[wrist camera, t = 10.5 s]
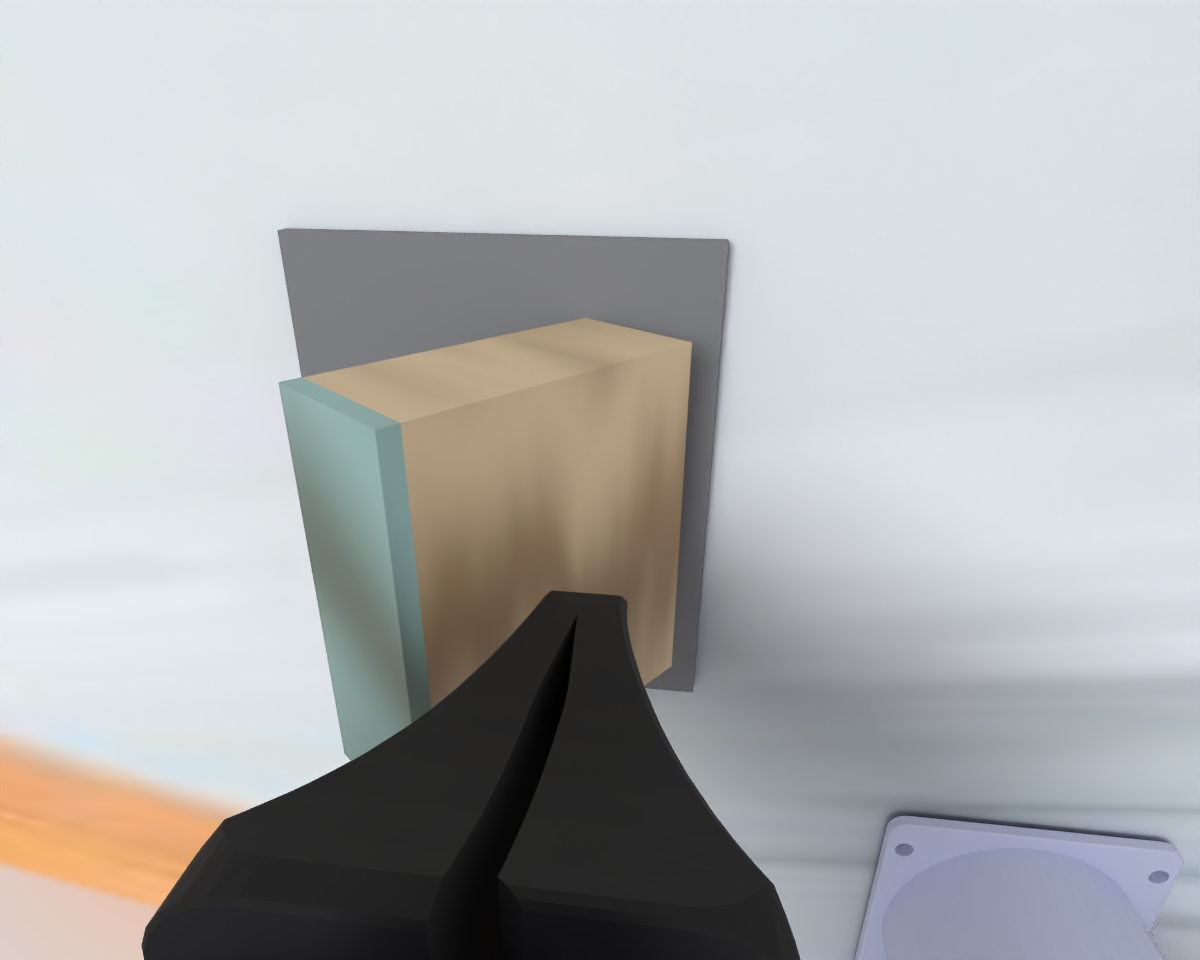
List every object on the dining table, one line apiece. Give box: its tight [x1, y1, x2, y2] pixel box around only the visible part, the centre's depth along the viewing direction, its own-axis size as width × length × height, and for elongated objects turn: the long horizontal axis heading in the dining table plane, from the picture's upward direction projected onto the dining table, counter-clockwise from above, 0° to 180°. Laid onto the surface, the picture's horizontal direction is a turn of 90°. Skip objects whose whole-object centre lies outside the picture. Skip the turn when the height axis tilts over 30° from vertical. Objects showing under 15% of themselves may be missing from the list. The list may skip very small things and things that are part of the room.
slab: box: [279, 318, 692, 761], centre depth 15 cm, size 8×3×7 cm
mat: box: [278, 228, 729, 692], centre depth 19 cm, size 12×10×1 cm
